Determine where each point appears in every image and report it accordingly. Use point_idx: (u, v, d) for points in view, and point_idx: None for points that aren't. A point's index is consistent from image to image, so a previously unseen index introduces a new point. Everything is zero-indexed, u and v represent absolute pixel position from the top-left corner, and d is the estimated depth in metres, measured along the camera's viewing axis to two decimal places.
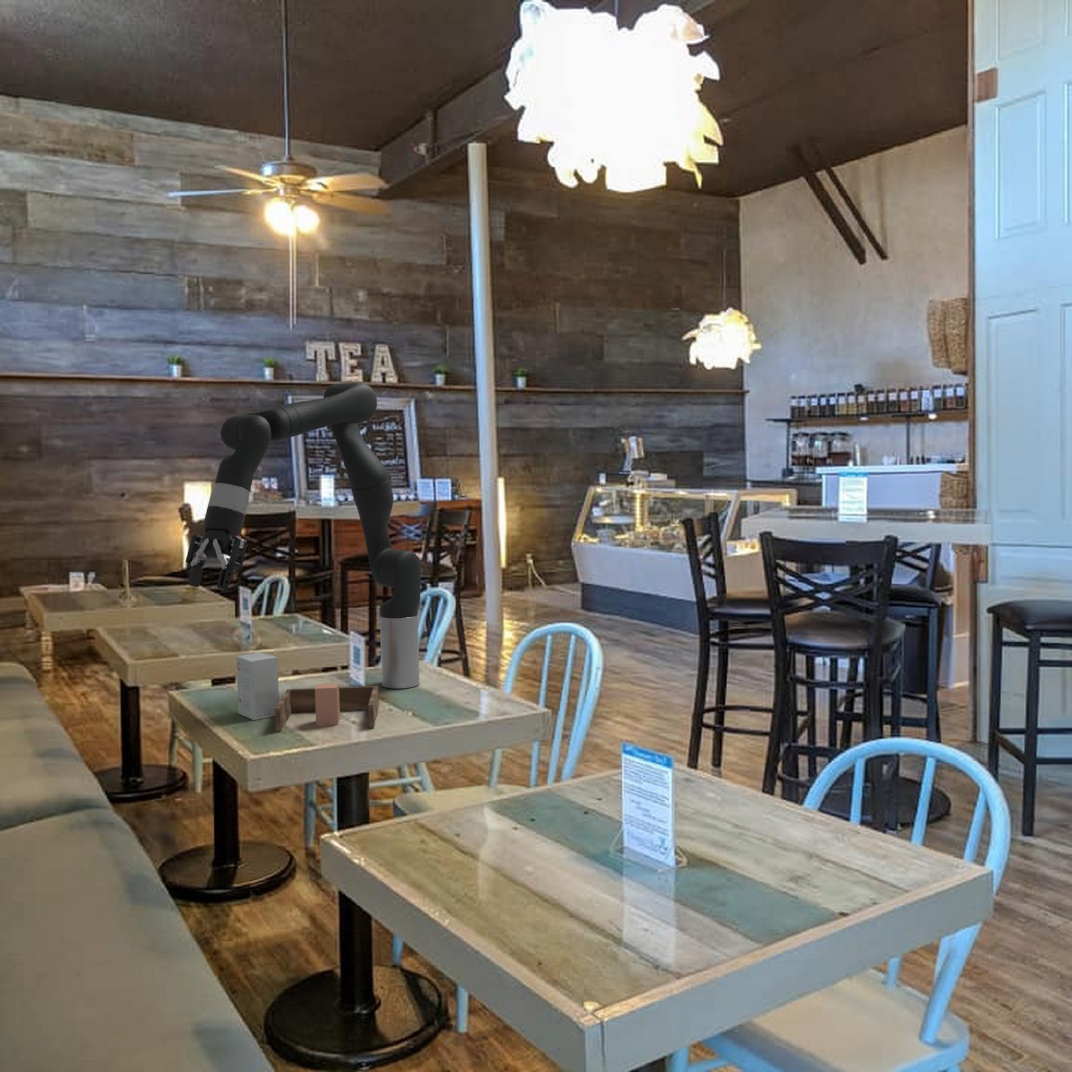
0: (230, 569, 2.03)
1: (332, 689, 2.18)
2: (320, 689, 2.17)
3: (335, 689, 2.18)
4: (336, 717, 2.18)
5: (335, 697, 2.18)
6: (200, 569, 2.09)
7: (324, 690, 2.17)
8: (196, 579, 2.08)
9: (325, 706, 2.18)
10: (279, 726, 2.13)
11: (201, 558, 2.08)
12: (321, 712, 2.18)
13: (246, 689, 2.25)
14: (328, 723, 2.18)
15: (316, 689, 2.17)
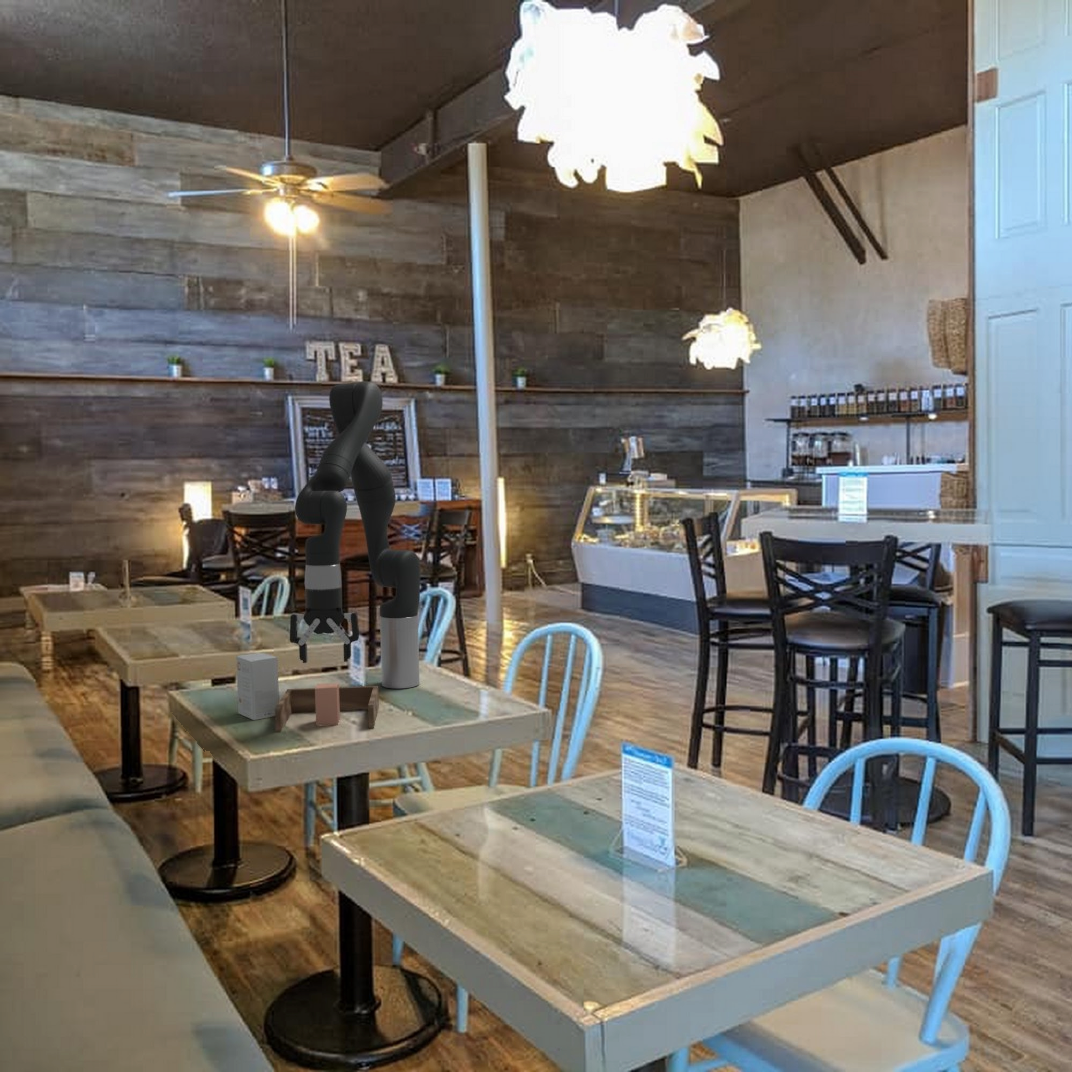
0: (351, 642, 2.19)
1: (332, 689, 2.18)
2: (320, 689, 2.17)
3: (335, 689, 2.18)
4: (336, 717, 2.18)
5: (335, 697, 2.18)
6: (306, 645, 2.19)
7: (324, 690, 2.17)
8: (306, 655, 2.19)
9: (325, 706, 2.18)
10: (279, 726, 2.13)
11: (309, 636, 2.18)
12: (321, 712, 2.18)
13: (246, 689, 2.25)
14: (328, 723, 2.18)
15: (316, 689, 2.17)
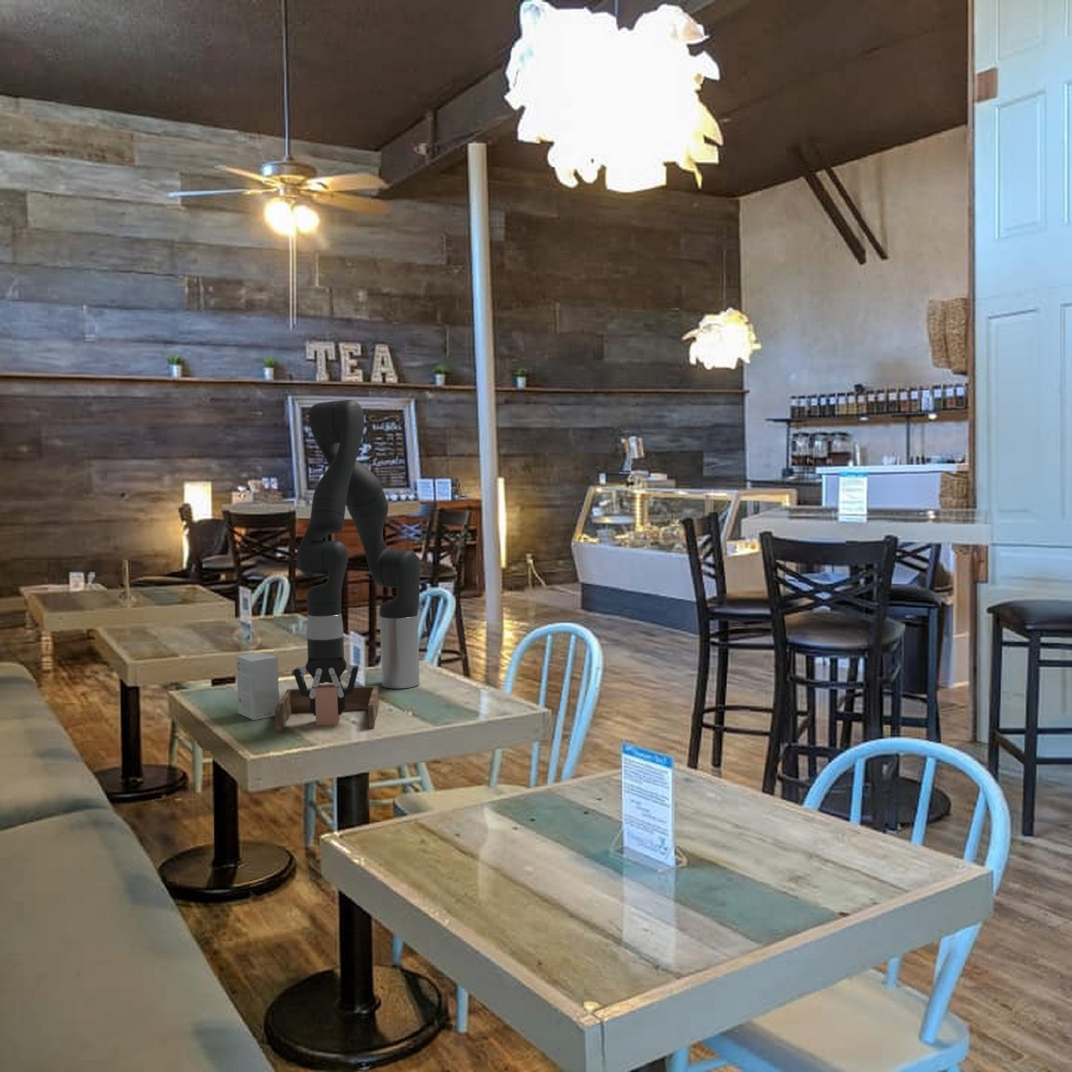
0: (345, 695, 2.20)
1: (332, 689, 2.18)
2: (320, 689, 2.17)
3: (335, 689, 2.18)
4: (336, 717, 2.18)
5: (335, 697, 2.18)
6: None
7: (324, 690, 2.17)
8: None
9: (325, 706, 2.18)
10: (279, 726, 2.13)
11: None
12: (321, 712, 2.18)
13: (246, 689, 2.25)
14: (328, 723, 2.18)
15: (316, 689, 2.17)
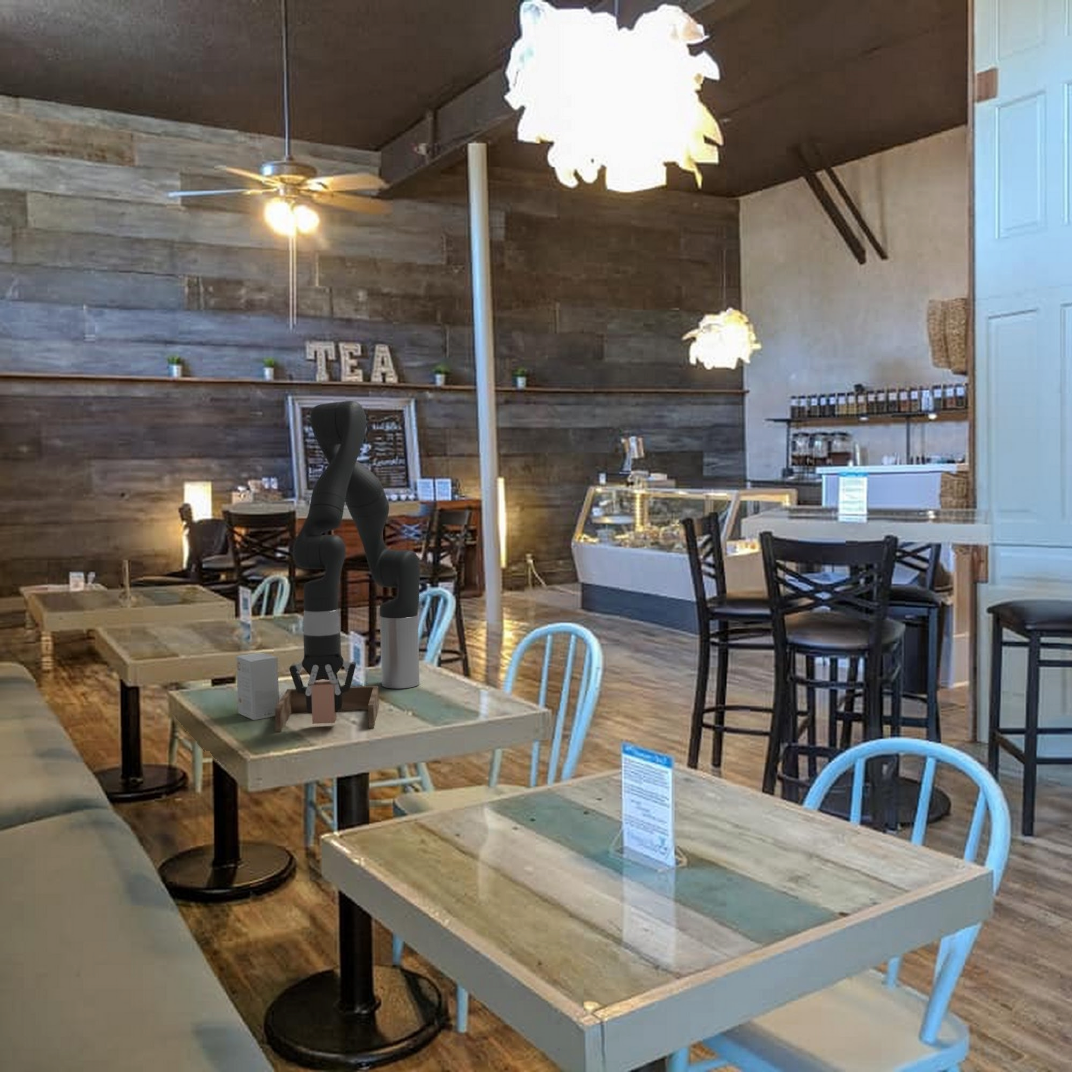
0: (342, 692, 2.15)
1: (329, 686, 2.13)
2: (316, 686, 2.13)
3: (332, 686, 2.13)
4: (333, 715, 2.14)
5: (332, 694, 2.13)
6: None
7: (320, 687, 2.13)
8: None
9: (322, 703, 2.13)
10: (279, 726, 2.13)
11: None
12: (318, 709, 2.13)
13: (246, 689, 2.25)
14: (324, 721, 2.14)
15: (312, 686, 2.13)
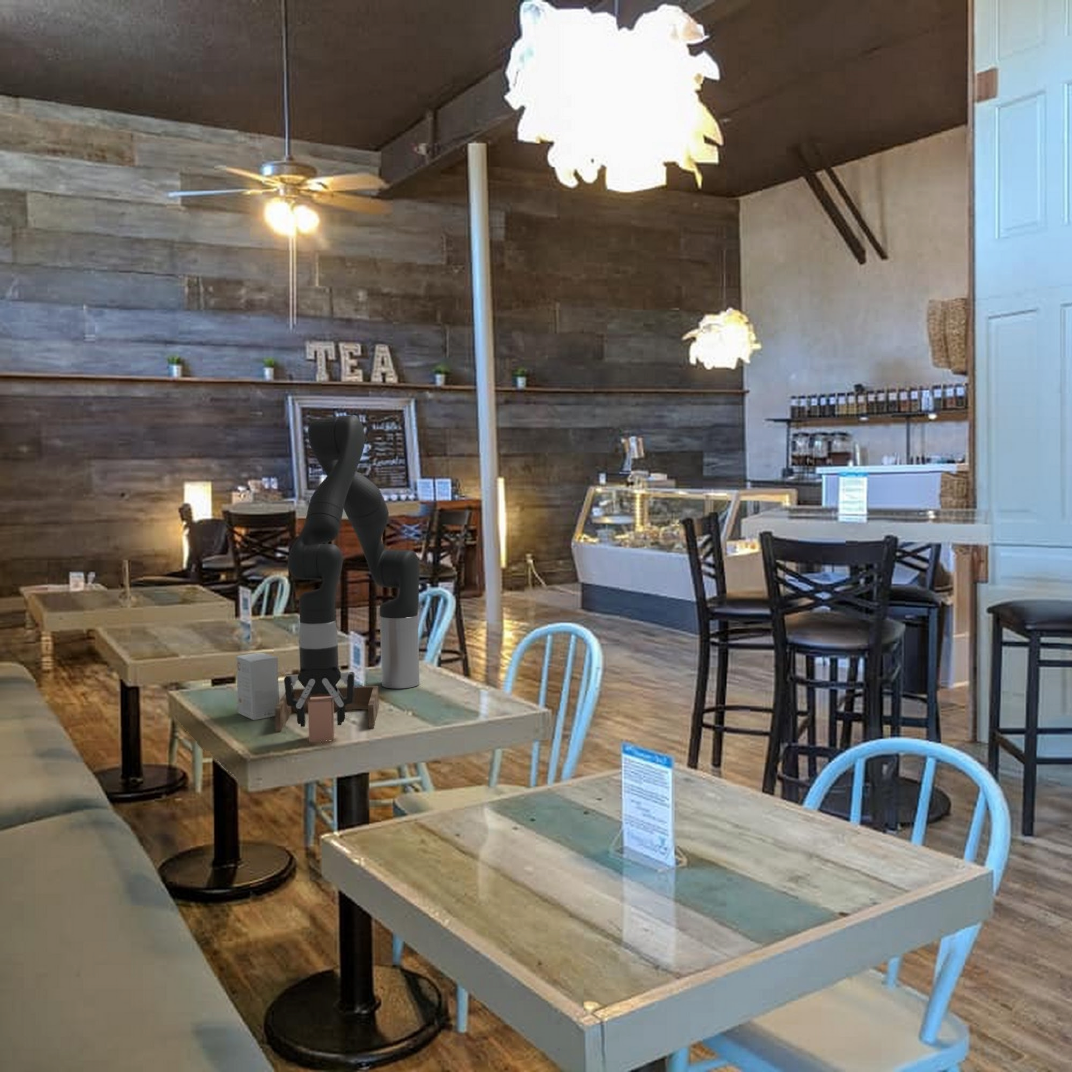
0: (345, 704, 2.08)
1: (326, 703, 2.06)
2: (313, 703, 2.05)
3: (329, 703, 2.06)
4: (330, 733, 2.06)
5: (329, 711, 2.06)
6: (304, 707, 2.08)
7: (318, 704, 2.06)
8: (304, 719, 2.08)
9: (319, 721, 2.06)
10: (279, 726, 2.13)
11: None
12: (315, 727, 2.06)
13: (246, 689, 2.25)
14: (322, 739, 2.06)
15: (309, 703, 2.05)
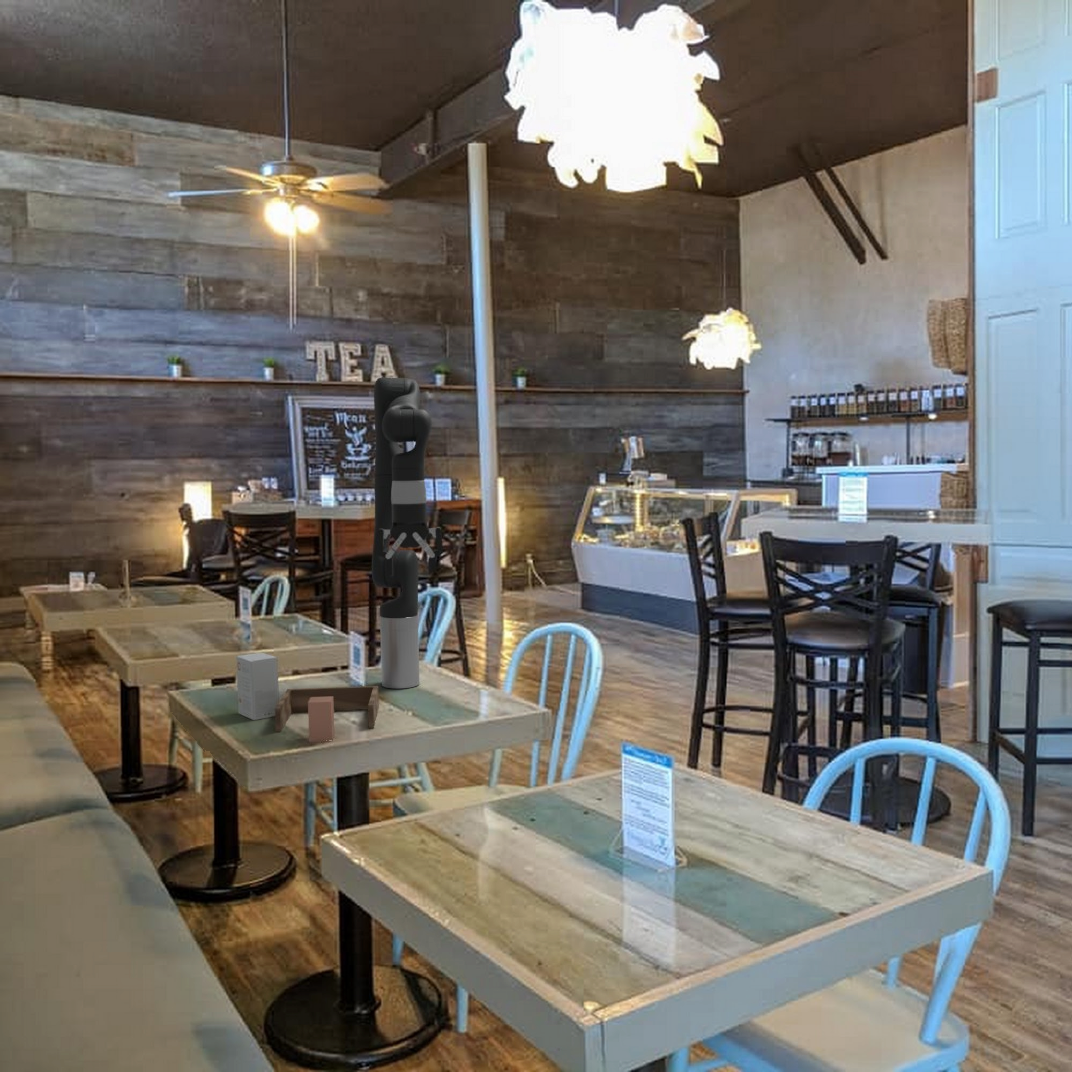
0: None
1: (326, 703, 2.06)
2: (313, 703, 2.05)
3: (329, 703, 2.06)
4: (330, 733, 2.06)
5: (329, 711, 2.06)
6: (392, 559, 2.27)
7: (318, 704, 2.06)
8: None
9: (319, 721, 2.06)
10: (279, 726, 2.13)
11: (395, 550, 2.26)
12: (315, 727, 2.06)
13: (246, 689, 2.25)
14: (322, 739, 2.06)
15: (309, 703, 2.05)
